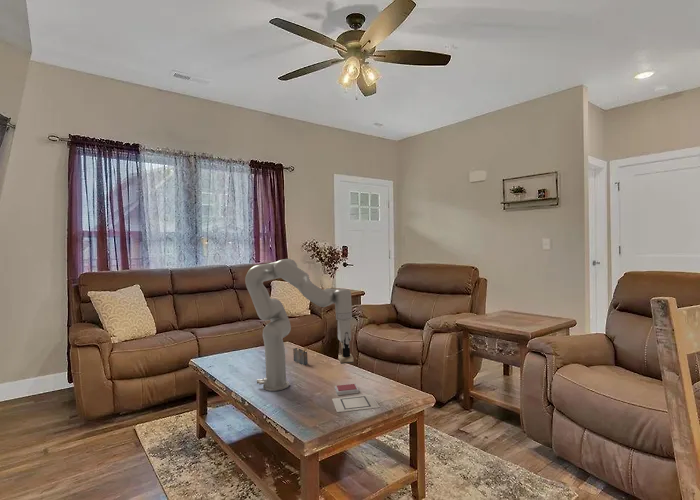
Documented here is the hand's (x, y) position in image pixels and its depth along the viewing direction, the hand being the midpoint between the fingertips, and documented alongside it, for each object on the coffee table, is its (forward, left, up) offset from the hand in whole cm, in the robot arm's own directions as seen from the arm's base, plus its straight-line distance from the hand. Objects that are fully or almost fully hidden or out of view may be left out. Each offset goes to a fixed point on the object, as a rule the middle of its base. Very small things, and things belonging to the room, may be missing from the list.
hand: (345, 354), depth 185 cm
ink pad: (0, 0, -17) cm, 17 cm away
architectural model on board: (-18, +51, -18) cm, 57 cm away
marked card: (+1, -15, -17) cm, 23 cm away
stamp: (0, 0, -3) cm, 3 cm away
